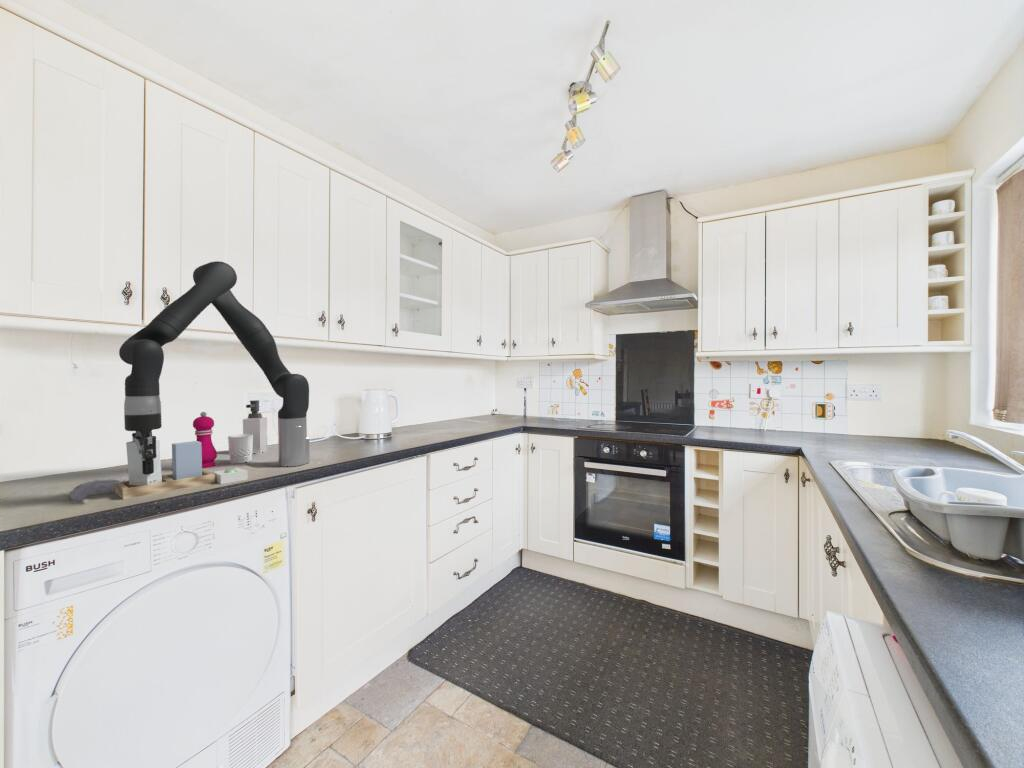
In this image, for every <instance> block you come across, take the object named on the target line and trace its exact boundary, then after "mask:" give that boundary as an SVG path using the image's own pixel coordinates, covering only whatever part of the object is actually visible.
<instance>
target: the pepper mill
mask: <svg viewBox="0 0 1024 768" xmlns="http://www.w3.org/2000/svg"><path fill="white" fill-rule="evenodd" d="M199 415H200V416H198V417H196V418H195V419H193V422H192V427H193V428H194V430H195V431H194V435H195V436H196V441H199V442H201V447H202V469H207V468H214V467H216V465H217V464H216V462H215V460H216V459H217V457H218V452H217V450H216V448H215V446H214V444H213V441H212V434H214V433H213V428H214V427H215V420H214V419H213V418H212V417H210V416H207V412H205V411H201V412H200V413H199Z"/></svg>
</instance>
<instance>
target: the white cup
mask: <svg viewBox="0 0 1024 768" xmlns="http://www.w3.org/2000/svg"><path fill="white" fill-rule="evenodd" d="M227 440H228V441H227V443H228V451H229V452H228V453H229V461H230V464H232V463H234V464H246V463H245V462H247V463H249V461H251V462H252V461H253V454H252V449H253V435H252V434H243V433H242V434H241V433H240V434H232V435H228V436H227Z"/></svg>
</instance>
